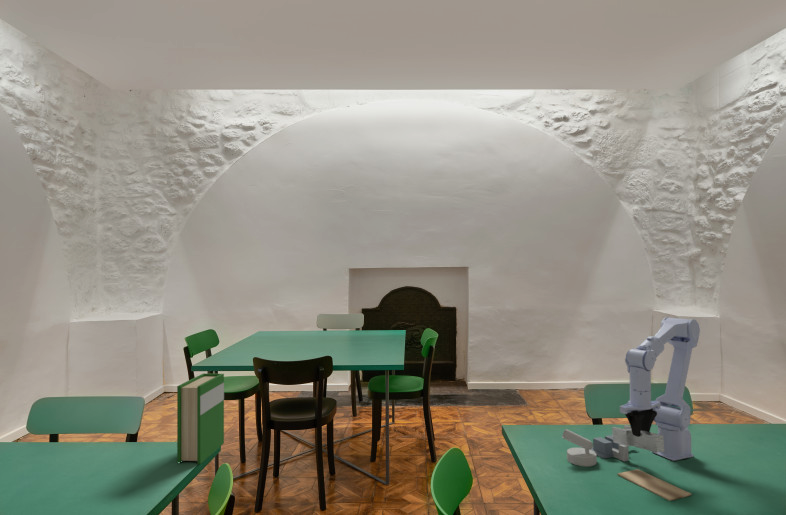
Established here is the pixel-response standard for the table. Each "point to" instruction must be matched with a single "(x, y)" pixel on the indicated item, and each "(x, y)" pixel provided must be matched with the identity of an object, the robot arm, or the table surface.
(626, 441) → the steel fork
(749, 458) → the table surface
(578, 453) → the wall hook
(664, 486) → the cork mat
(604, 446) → the vise
